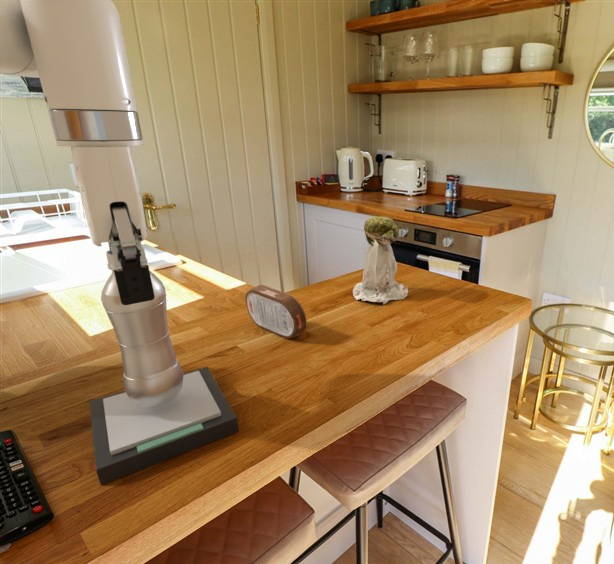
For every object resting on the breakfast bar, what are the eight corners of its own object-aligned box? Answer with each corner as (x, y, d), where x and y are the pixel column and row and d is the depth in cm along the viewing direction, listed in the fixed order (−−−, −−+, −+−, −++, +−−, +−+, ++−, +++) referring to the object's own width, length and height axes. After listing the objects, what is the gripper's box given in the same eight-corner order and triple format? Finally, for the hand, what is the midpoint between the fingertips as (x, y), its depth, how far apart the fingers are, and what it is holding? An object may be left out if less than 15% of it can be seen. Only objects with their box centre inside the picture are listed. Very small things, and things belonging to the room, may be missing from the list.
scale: (100, 485, 47) (94, 465, 46) (93, 414, 58) (88, 397, 57) (239, 431, 55) (236, 413, 54) (209, 378, 66) (206, 363, 65)
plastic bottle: (196, 393, 56) (170, 248, 49) (145, 421, 51) (107, 262, 44) (169, 377, 59) (140, 239, 52) (117, 402, 54) (78, 252, 47)
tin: (309, 339, 79) (306, 297, 76) (296, 346, 76) (292, 303, 73) (258, 318, 87) (254, 279, 84) (245, 323, 84) (240, 284, 81)
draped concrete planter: (342, 292, 100) (339, 216, 94) (385, 280, 108) (385, 209, 102) (371, 308, 92) (370, 226, 85) (416, 294, 100) (418, 217, 93)
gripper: (54, 128, 48) (92, 277, 54) (50, 132, 35) (101, 327, 41) (131, 129, 52) (158, 267, 58) (153, 132, 39) (185, 309, 45)
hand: (134, 290), depth 50 cm, fingers closed on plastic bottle, 6 cm apart
